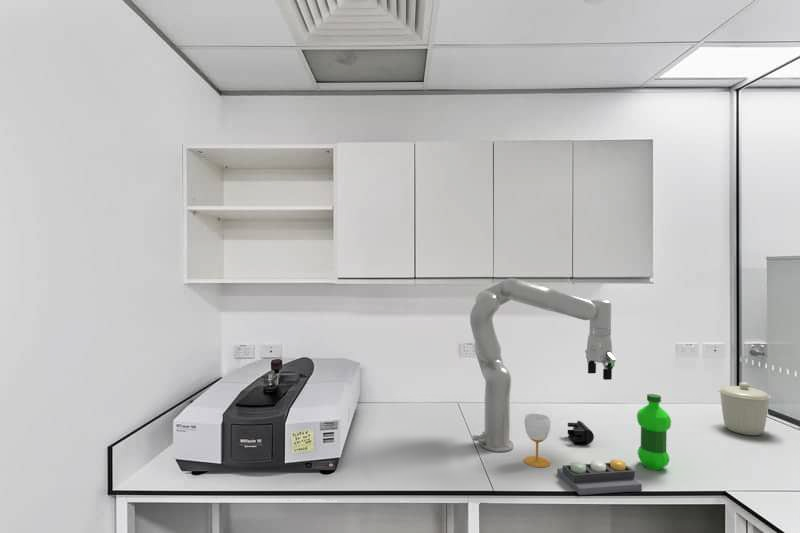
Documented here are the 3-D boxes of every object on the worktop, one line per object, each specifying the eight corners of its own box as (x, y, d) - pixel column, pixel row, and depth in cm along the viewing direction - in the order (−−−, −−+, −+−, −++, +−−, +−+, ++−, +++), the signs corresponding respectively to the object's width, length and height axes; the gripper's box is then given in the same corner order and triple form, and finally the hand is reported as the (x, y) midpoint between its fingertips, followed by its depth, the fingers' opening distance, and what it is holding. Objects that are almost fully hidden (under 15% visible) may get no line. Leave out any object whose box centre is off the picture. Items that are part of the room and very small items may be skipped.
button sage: (575, 476, 145) (575, 468, 145) (567, 469, 150) (567, 462, 150) (588, 475, 146) (588, 467, 146) (580, 469, 151) (580, 461, 151)
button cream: (595, 475, 146) (595, 467, 146) (587, 468, 151) (587, 461, 151) (608, 474, 147) (608, 466, 147) (600, 467, 152) (600, 460, 152)
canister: (762, 442, 184) (763, 390, 183) (711, 429, 198) (711, 380, 198) (776, 433, 194) (777, 383, 194) (727, 421, 209) (727, 375, 209)
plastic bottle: (653, 475, 154) (654, 401, 154) (629, 462, 165) (630, 392, 164) (677, 471, 157) (678, 398, 157) (652, 458, 167) (653, 390, 167)
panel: (579, 495, 141) (579, 480, 141) (557, 474, 154) (557, 461, 154) (641, 490, 144) (641, 476, 144) (614, 470, 158) (614, 457, 158)
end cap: (594, 446, 179) (594, 429, 178) (575, 446, 179) (575, 429, 179) (584, 436, 188) (584, 420, 188) (567, 436, 189) (567, 420, 189)
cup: (525, 455, 170) (525, 411, 170) (551, 459, 166) (551, 415, 166) (522, 465, 161) (522, 419, 161) (549, 469, 158) (549, 423, 158)
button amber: (615, 473, 147) (615, 466, 147) (607, 467, 152) (607, 459, 152) (628, 472, 148) (628, 465, 148) (619, 466, 153) (619, 459, 153)
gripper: (578, 328, 184) (577, 371, 184) (605, 335, 167) (604, 382, 167) (595, 328, 186) (594, 370, 186) (623, 335, 169) (622, 381, 169)
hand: (599, 376), depth 176 cm, fingers open, 9 cm apart
